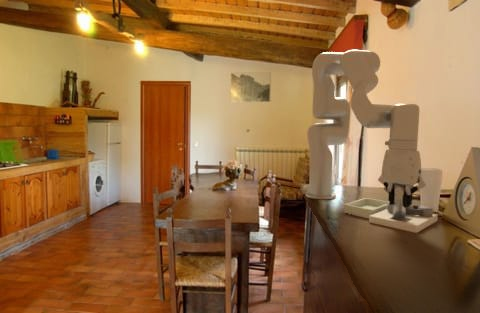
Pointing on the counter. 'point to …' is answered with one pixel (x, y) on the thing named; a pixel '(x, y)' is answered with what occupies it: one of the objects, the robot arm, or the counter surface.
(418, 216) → the pulley board
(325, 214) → the counter surface
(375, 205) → the tray
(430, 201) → the drinking glass
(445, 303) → the counter surface
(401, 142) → the robot arm
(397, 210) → the lock pin
